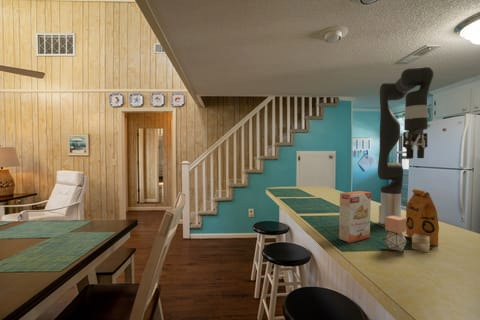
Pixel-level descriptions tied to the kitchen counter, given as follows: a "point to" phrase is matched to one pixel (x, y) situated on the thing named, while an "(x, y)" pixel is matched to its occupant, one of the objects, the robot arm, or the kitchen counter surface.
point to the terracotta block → (395, 224)
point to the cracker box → (354, 216)
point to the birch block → (421, 242)
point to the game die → (395, 241)
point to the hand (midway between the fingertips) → (415, 158)
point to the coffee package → (422, 216)
